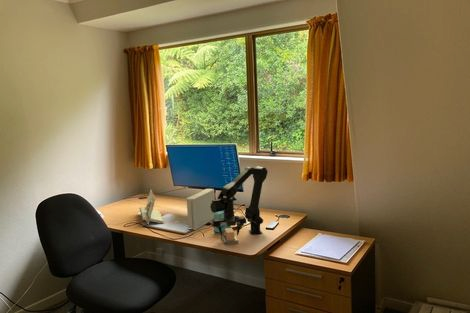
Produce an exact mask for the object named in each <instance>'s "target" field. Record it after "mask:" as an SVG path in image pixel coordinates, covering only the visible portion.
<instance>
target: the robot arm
mask: <svg viewBox="0 0 470 313" xmlns="http://www.w3.org/2000/svg"><path fill="white" fill-rule="evenodd" d="M268 171H269V170H268V169H267V168H266V167H264V166H258V165H257V166H255V167H251V166H246V167H245V168H244V169H243V171H242V172H241V173H239V174H238V175H237V176H236V177H235V178H234V179H233V180H232V181H231V182H229V183H227V184H225V185H224V186H223V187H222V188H221V189H220V192H219V194H218V196H217V199H215V200H212V203H211V205H210V208H211V211H212V212H213V213H216V212H220V211H223V210H224V220H219V219H212V220H211V224H212V227H216V228H218V229H219V231H220V233H219V234H220V236H221V237H222V235H223V232H222V230H221V225H220V224H223V223H227V226H231V227H235V226H236V236H239V233H240V230H241V228H242V226H244V225H246V224H247V222H248V223H250V225H249V226H250V230H248V231H249V233H250V235H259V234H263V232H262V230H261V225H262V224H263V223H264V219H263V218H262V217H261V211H260V208H259V205H260V200H261V195H262V187H263V183H264V182H265V180H266V179H267V177H268ZM251 176H252V178H253V187H252V192H251V197H250V203H249V206H248V207H246V208H245V212H244V215H242V216H241V215H240V216H239V215H235V211H234V210H235V209H234V208H235V207H234V206H235V204H234V202H235V201H237V198H236V197H235V196H236V194H237V192H238V189H239V188H240V187H241V186H242V185H243V184H244V183H245V182H246V181H247V180H248V178H250V177H251Z"/></svg>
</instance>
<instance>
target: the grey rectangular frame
mask: <svg viewBox="0 0 470 313" xmlns="http://www.w3.org/2000/svg"><path fill="white" fill-rule="evenodd" d="M234 236H235V240H233V241H226V239H225V234H222V237H221V240H222V241H223V244H224V245H226V246H227V245H232V244H234V245H235V244H239V240H238V239H237V237H236V235H235V234H234Z"/></svg>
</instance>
